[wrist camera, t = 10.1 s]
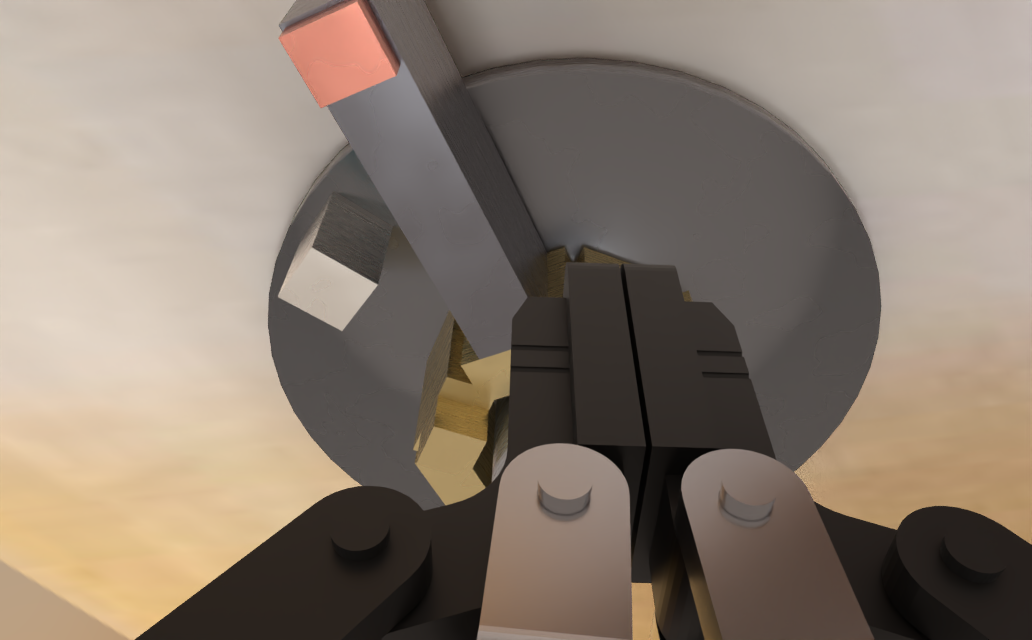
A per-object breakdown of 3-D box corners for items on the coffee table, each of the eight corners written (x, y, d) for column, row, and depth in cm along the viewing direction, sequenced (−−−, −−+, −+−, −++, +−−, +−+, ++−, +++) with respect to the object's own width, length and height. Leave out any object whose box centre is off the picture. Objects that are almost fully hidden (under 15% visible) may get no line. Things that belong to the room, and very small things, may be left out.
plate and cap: (904, 458, 32) (980, 623, 27) (431, 569, 37) (413, 728, 32) (812, -60, 21) (911, 40, 15) (150, 197, 26) (45, 343, 20)
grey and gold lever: (738, 420, 29) (770, 543, 25) (501, 485, 32) (496, 608, 28) (528, -132, 19) (526, -75, 15) (199, 26, 21) (118, 112, 17)
